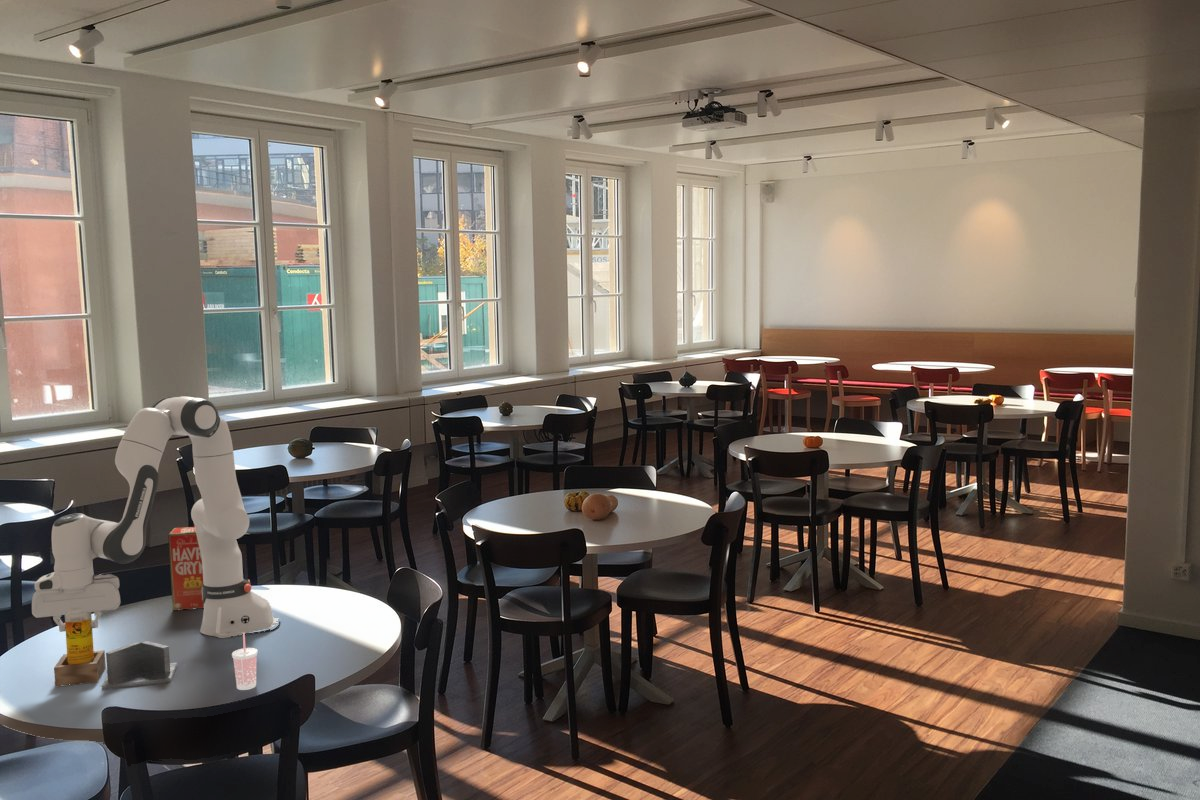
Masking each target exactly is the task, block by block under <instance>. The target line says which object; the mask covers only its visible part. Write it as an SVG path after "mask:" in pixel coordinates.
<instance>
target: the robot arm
mask: <svg viewBox="0 0 1200 800" xmlns="http://www.w3.org/2000/svg"><path fill="white" fill-rule="evenodd" d="M219 415H220V414H219V412H218V409H217V407H216V406H215V404H214V403H213V402H211V401H210V400H208V399H205V398H202V397H192V396H187V395H186V396H183V395H181V396H175V397H174V396H167V397H163V398H160V399H159V400H156V401H155V402H154V403H153V404H152V405H151V406H150V407H143V408H141V409H139V410H138V411H137V412H136V413H135V414H134V416H133V417H132V419H131V421H130V422H129V423H128V425H127V426H126V429H125V431H124V433H123V435H122V437H121V440H120V441H119V444H118V447H117V448H116V451H115V452H116V453H115V457H114V464H115V467H116V469H117V470H118V472H119V473H120V474H121V475H122V477H124V478H125V480H126V481H127V483H128V485H129V494H128V496H127V497H128V498H127V501H126V504H125V508H124V512H123V515H122V518H121V519H120V521H119V522H116V521H111V520H106V519H105V520H104V519H98V518H93V517H91V516H88V515H86V514H84V513H80V512H78V513H77V512H76V513H75V512H74V513H71V514H65V515H63V516H61V517H59V518H57V519H56V520H55V521H54V523H53V525H52V527H51V549H52V551H51V552H52V554H53V558H54V565H53V572H51V573H48V574H45V575H42V576H41V577H39V578H38V579H37V580H36V581H35V583H34V590H35V592H34V593H33V595H32V598H31V614H32V616H34V617H35V618H47V617H52V618H53V621H54V622H55V624H56V625H57V626H58V631H59V632H60V633H63V632H66V628H65V622H63V621H62V619H61V618H62V616H65V615H66V614H67V613H68V612H69V611H70V609H77V608H81V609H82V610H83V611H85V612H91V613H93V614H94V616H96V617H95V619H92V621H91V622H90V624H91V628H92V629H97V628H99V619H100V617H101V615H102V613H103V611H112V610H113V611H114V610H117V609H118V608H119V607H120V605H121V595H120V591H119V589H120V579H119V577H118V576H116V575H115V574H114V575H113V574H112V573H107V574H96V575H95V574H94V567H93V566H94V565H93V560H94V559H96V558H101V559H105V560H109V561H112V562H115V563H118V564H121V565H122V564H123V565H125V564H129V563H132V562H134V561H135V560H137V559H138V558H140V556H141V555H142V553H143V552H144V550H145V548H146V543H147V542H146V541H147V528H148V522H149V518H150V514H151V512H152V508H153V504H154V502H155V497H156V493H157V490H158V486H159V467H160V463H161V460H162V457H163V453H164V452H165V448H166V447H167V446H166V445H167V442H168V441H169V439H170V438H172V436H173V435H174V436H179V437H180V436H181V437H184V436H188V437H189V439H190V441H191V444H192V446H191V447H192V449H191V450H192V459H193V467H194V468H193V469H194V478H195V484H196V485H197V488H198V490H199V493H200V495H201V496H200V497H201V498H200V499H198V500H196V502H195V503H194V504H193V506H192V508H191V510H190V511H191V512H190V515H191V520H192V521H193V526H194V527H195V530H196V535H197V540H198V544H199V548H200V552H201V558H202V569H203V585H202V600H203V603H204V609H203V612H202V621H201V625H200V630H199V632H200V633H201V634H203V635H206V636H210V637H217V638H219V639H227V638H232V637H231V636H233V637H237V636H236V635H239V636H242V635H241V634H243V633H249V632H253V631H258V630H263V629H269V628H272V627H274V626H276V625H277V624H276V625H271V624H274V623H278V622H276V621H278V619H279V618H274V617H273V615H272V614H273V610H272V606H271V605H270V604H271V603H270V602H269V601H268V599H266V598H264V597H262V596H261V595H259V594H257V593H255V592H253V591H252V585H251V581H250V579H245V578H244V573H243V556H242V552H241V549H240V547H239V544H238V541H237V539H240V538H242V537H243V536H244V535H245V534H246V533H247V532H248V529H249V527H250V517H249V514H248V513H247V511H246V508H245V505H244V502H243V498H242V497H243V496H242V493H241V490H240V486H239V484H238V479H237V474H236V465H235V464H236V463H235V456H234V447H233V440H232V435H231V432H230V428H229V426H228V422H227V421H226V420H225V419H224V418H222V417H221V416H219Z"/></svg>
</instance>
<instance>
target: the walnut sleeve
mask: <svg viewBox="0 0 1200 800" xmlns="http://www.w3.org/2000/svg"><path fill="white" fill-rule="evenodd" d="M106 669H107V664H106V653H105V650H104V649H103V650H95V651H94V660H93V661H92V662H89V663H80V664H70V665H69V664H68V661H67V653H66V654H65V653H64V654H63V655H62V656H61V657H60V659H59V660H58V662H56V664H55V665H54V667H53V672H54V685H55V686H58V687H62V686H61V685H67V686H74V685H73V684H76V685H84V684H93V683H98V682H99V681H100V679H101V677H102V676H103V673H104V672H105V671H104V670H106ZM69 684H70V685H69ZM55 686H54V687H55Z"/></svg>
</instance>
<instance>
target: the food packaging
mask: <svg viewBox="0 0 1200 800" xmlns="http://www.w3.org/2000/svg"><path fill="white" fill-rule="evenodd" d="M167 539H168V551H169V567H170V584H171V598H172V599H171V600H172V601H171V602H172V611H173V610H178V609H192V610H194V609H193V608H204V603H203V600H202V585H203V569H202V558H201V552H200V548H199V544H198V540H197V535H196V530H195V526H189V527H186V526H185V527H174V528H172V530H171V531H170V532H169V534H167ZM178 611H179V610H178Z"/></svg>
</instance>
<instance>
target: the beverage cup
mask: <svg viewBox="0 0 1200 800" xmlns="http://www.w3.org/2000/svg"><path fill="white" fill-rule="evenodd" d="M242 642H243V646H242V647H243V648H239V649H236V650H234V651H232V653H231V658H233V659H232V660H233V668H234V674H235V675H234V677H235V683H236V689H237V690H240V691H247V690H251V689H252V690H253V689H254V688H256V687H257V660H258V659H257V655H258V652H259V651H258V649H257V648H254V647H246V635H245V633H243V635H242Z"/></svg>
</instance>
